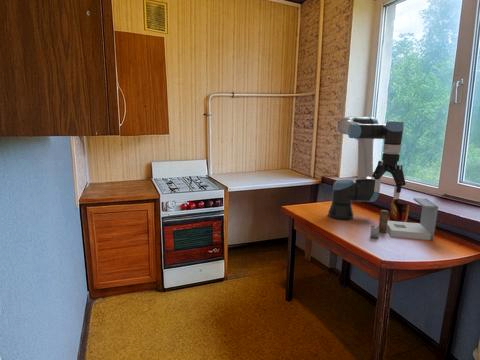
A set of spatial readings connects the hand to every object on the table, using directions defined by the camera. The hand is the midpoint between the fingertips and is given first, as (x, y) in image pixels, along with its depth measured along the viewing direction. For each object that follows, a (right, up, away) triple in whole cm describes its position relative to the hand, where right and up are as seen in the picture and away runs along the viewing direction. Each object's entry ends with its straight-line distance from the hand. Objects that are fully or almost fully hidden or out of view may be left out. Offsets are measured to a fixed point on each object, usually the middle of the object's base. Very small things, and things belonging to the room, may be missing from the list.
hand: (386, 195), depth 150 cm
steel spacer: (-3, -23, +6) cm, 24 cm away
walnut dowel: (+5, -21, +14) cm, 26 cm away
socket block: (+18, -21, +13) cm, 31 cm away
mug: (+25, -18, +32) cm, 44 cm away
